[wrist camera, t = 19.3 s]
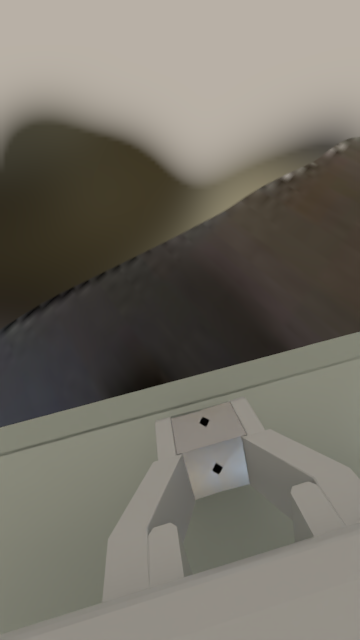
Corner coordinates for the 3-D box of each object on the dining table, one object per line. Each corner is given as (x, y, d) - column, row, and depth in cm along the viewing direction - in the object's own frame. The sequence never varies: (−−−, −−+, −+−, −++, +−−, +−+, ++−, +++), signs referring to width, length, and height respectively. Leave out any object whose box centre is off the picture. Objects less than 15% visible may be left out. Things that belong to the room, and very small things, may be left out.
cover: (690, 841, 8) (890, 1002, 5) (-47, 1143, 6) (-170, 1503, 4) (388, 334, 14) (425, 314, 11) (-23, 445, 12) (-70, 446, 10)
